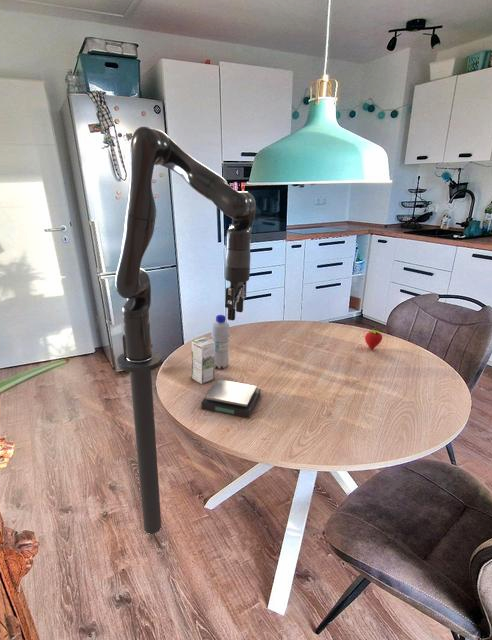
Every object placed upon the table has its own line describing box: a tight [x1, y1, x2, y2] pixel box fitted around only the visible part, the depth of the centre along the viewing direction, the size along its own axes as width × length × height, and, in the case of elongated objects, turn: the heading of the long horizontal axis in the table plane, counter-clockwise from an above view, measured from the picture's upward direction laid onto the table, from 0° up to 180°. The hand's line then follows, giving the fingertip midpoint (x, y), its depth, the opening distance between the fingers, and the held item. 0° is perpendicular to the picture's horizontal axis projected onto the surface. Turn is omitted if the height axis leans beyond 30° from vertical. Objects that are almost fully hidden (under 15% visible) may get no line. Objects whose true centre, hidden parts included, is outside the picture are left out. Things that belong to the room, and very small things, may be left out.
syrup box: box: [191, 337, 215, 385], centre depth 132 cm, size 6×6×14 cm
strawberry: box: [364, 326, 383, 350], centre depth 163 cm, size 6×8×10 cm
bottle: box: [210, 314, 231, 370], centre depth 141 cm, size 7×7×20 cm
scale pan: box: [205, 379, 258, 407], centre depth 120 cm, size 13×12×1 cm
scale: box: [200, 381, 262, 419], centre depth 121 cm, size 15×14×2 cm
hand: (235, 315), depth 122 cm, fingers open, 8 cm apart
